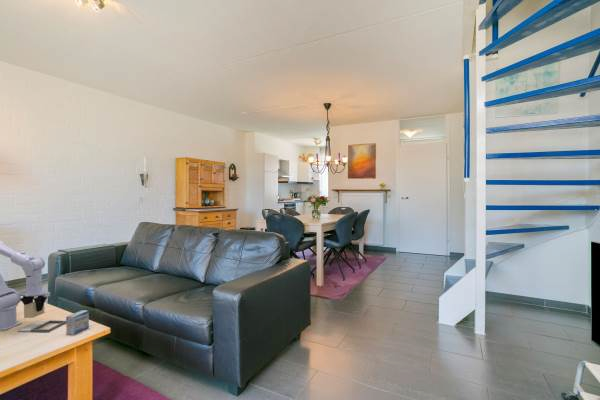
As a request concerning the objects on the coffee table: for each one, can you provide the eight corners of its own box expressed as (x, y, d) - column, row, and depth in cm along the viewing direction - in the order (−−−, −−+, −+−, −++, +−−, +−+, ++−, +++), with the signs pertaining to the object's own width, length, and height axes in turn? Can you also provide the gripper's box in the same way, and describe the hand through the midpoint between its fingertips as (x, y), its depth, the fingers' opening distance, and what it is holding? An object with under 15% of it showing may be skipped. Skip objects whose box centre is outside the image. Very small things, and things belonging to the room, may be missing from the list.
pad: (17, 331, 139) (17, 330, 139) (37, 322, 149) (37, 321, 149) (29, 332, 138) (29, 331, 138) (48, 322, 148) (48, 321, 148)
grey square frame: (30, 332, 138) (30, 329, 138) (50, 322, 148) (50, 320, 148) (48, 332, 138) (48, 329, 138) (66, 323, 148) (66, 320, 148)
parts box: (24, 317, 140) (23, 305, 140) (35, 312, 146) (35, 300, 146) (33, 317, 140) (32, 305, 140) (44, 312, 146) (44, 300, 146)
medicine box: (73, 335, 135) (73, 317, 135) (65, 334, 136) (65, 316, 136) (89, 327, 143) (89, 310, 143) (81, 327, 144) (81, 309, 144)
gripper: (11, 285, 139) (12, 313, 140) (40, 286, 139) (41, 314, 139) (25, 281, 146) (26, 308, 147) (53, 281, 146) (54, 308, 146)
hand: (34, 310), depth 143 cm, fingers closed on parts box, 4 cm apart
